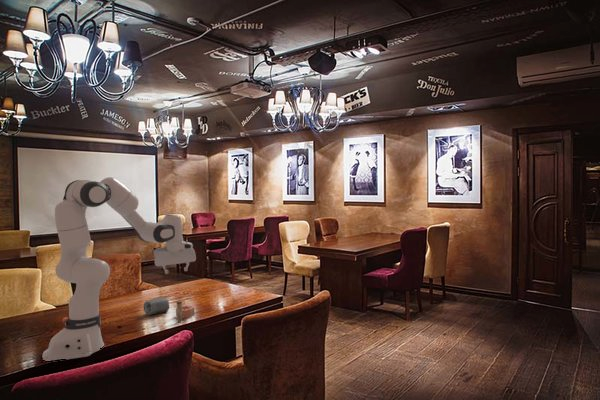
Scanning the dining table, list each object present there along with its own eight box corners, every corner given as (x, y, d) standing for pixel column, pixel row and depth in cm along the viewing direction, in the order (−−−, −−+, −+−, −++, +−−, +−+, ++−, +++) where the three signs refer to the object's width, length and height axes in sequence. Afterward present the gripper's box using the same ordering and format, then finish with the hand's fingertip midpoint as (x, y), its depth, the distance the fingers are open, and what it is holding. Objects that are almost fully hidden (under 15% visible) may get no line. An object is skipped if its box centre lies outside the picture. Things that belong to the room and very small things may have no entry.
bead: (179, 319, 205) (179, 311, 205) (174, 314, 212) (174, 307, 212) (196, 315, 209) (195, 308, 209) (191, 311, 217) (191, 304, 217)
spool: (146, 312, 206) (147, 293, 211) (140, 317, 212) (141, 298, 217) (172, 313, 214) (172, 295, 219) (165, 318, 220) (166, 300, 225)
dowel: (178, 322, 200) (177, 302, 199) (176, 321, 202) (176, 301, 202) (182, 321, 201) (182, 302, 201) (181, 320, 203) (181, 300, 203)
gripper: (153, 249, 195) (155, 276, 196) (195, 244, 203) (197, 270, 205) (152, 247, 200) (154, 273, 202) (193, 242, 209) (195, 267, 210)
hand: (176, 272), depth 203 cm, fingers open, 8 cm apart
